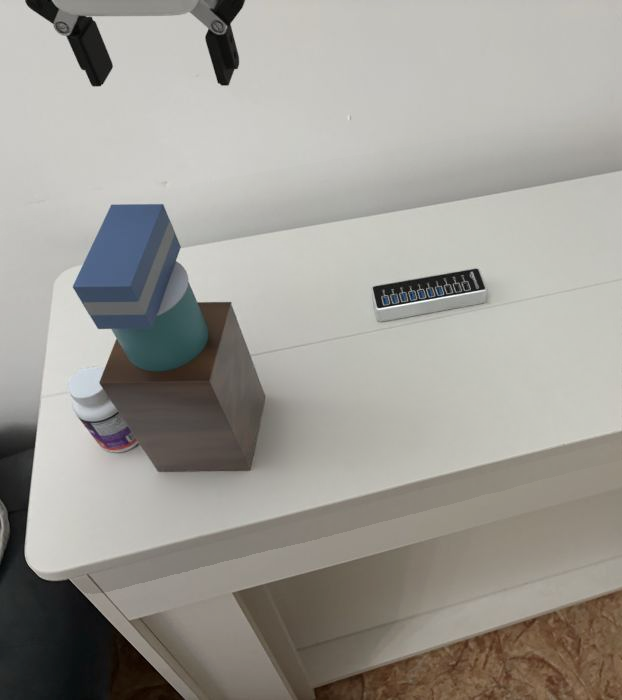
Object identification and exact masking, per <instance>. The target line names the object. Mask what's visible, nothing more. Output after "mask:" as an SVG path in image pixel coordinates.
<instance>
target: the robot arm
mask: <svg viewBox="0 0 622 700" xmlns="http://www.w3.org/2000/svg"><path fill="white" fill-rule="evenodd" d="M24 2H25V4H26V6H27V7H28V8H29V9H30V10H32V11H33V12H35V13H36V14H37V15H39V16H40V17H42V18H43V19H45V20H46V21H48V22H49V23H50V24H52V25H53V29H54V30H55V31H56V32H57V33H58V34H59V35H61V36H65V37H66V39H67V41H68V43H69V45H70V48H71V50H72V52H73V55H74V57H75V59H76V62H77V64H78V66H79V68H80V69H81V70H82V71H85V74H86V76H87V79H88V81H89V84H90V85H91V86H92V87H93V88H94V87H102V85H104V84H105V82H106V80H107V79H108V77H109V75H110V73H111V72H112V70H113V68H114V64H113V62H112V59H111V57H110V54H109V51H108V49H107V47H106V44H105V42H104V40H103V36H102V34H101V32H100V29H99V27H98V24H97V22H96V20H94V19H93V17H170V16H171V17H173V16H180V15H181V16H183V15H186V14H188V13H190V14H191V15H192V16H193V17H194V18H196V19H197V20H198V21H199V22H200V23H201V24H202V25H204V26H205V27H206V28H207V31H206V34H205V36H204V37H205V39H204V41H205V43H206V44H205V45H206V47H207V50H208V54H209V57H210V61H211V65H212V68H213V71H214V73H215V75H214V76H215V78H216V82H217V84H219V85H220V87H221V86H224V87H225V86H226V87H228V86H230V83H231V80H232V77H233V75H234V72H235V70H238V69H239V66H240V55H239V51H238V48H237V43H236V40H235V36H234V32H233V29H232V25H231V24H232V23H233V21H234V20H235V18H236V17H237V16H238V15H239V13H240V12H241V10H242V9H243V7H244V5H245V3H246V0H24Z"/></svg>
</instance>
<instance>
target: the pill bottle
mask: <svg viewBox="0 0 622 700" xmlns="http://www.w3.org/2000/svg"><path fill="white" fill-rule="evenodd" d="M104 369H105V368H103V367H99V366H88V367H85V368H83V369H80V370H79V371H77V372H75V373H74V374H73V375H72V376H71V377H70V378H69V381H68V383H67V391H68V393H69V395H70V397H71V398H72V400H71V407H72V410H73V413H74V414H75V415H76V417H77V419H78V420H79V421H80V422H81V423H82V425H83V426H84V428H86V430H87V431H88V432H89V434H90V435H91V437H92V438H93V440H95V441H96V443H97V444H98V445H99V447H100V448H101V449H103V450H105V451H106V452H110V453H123V452H126V451H129V450H132V449H133V448H135V447H136V446H138V444H139V442H138V441H137V439H136V438H135V436H134V435H133V433H132V432H131V430H130V429H129V427H128V426H127V424H126V423H125V421H124V420H123V418H122V417H121V415H120V414H119V412H118V411H117V409H116V408H115V406H114V405H113V403H112V402H111V400H110V399H109V397H108V396H107V394H106V393H105V391H104V390H103V388H102V387H101V385H100V384H99V382H100V379H101V377H102V374H103V372H104Z"/></svg>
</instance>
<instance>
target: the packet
mask: <svg viewBox="0 0 622 700" xmlns="http://www.w3.org/2000/svg"><path fill="white" fill-rule="evenodd" d="M181 248H182V246H181V244H180V242H179V239H178V237H177V234H176V231H175V229H174V226H173V224H172V222H171V219H170V217H169V215H168V212H167V210H166V208H165V205H164V203H142V204H141V203H139V204H138V203H136V204H133V203H131V204H130V203H128V204H127V203H126V204H123V203H122V204H121V203H120V204H110V206H109V209H108V211H107V213H106V215H105V217H104V218H103V221H102V224H101V225H100V227H99V229H98V232H97V233H96V236H95V238H94V240H93V242H92V244H91V247H90V249H89V251H88V253H87V254H86V258H85V259H84V261H83V263H82V265H81V267H80V270H79V271H78V274H77V276H76V278H75V280H74V283H73V285H72V289H73V290H74V293H75V294H76V295H77V297H78V299H79V300H80V302H81V304H82V305H83V306H82V307H84V309H85V311H86V312H87V314H88V315H89V317H90V319H91V320H92V322H93V323H94V325H95V326H96V328H97V330H112V329H150V328H152V327H153V325H154V322H155V319H156V316H157V313H158V310H159V308H160V305H161V302H162V299H163V296H164V293H165V291H166V288H167V285H168V282H169V279H170V276H171V274H172V271H173V268H174V265H175V262H176V261H177V260H178V257H179V253H180V251H181Z"/></svg>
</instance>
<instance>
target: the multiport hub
mask: <svg viewBox="0 0 622 700" xmlns="http://www.w3.org/2000/svg"><path fill="white" fill-rule="evenodd" d="M370 292H371V297H372V304H373V308H374V312H375V316H376V320H377V322H379V323H383V322H389V321H393V320H400V319H405V318H409V317H416V316H421V315H427V314H431V313H438V312H443V311H449V310H454V309H459V308H466V307H470V306H477V305H481V304H485V303H487V298H488V288H487V284H486V282H485V279H484V277H483V274H482V271H481V269H480V268H479V267H474V268H468V269H463V270H462V269H461V270H456V271H450V272H445V273H439V274H432V275H428V276H427V275H426V276H423V277H421V276H420V277H416V278H410V279H405V280H400V281H392V282H387V283H381V284H376V285H372V286H371V287H370Z"/></svg>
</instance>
